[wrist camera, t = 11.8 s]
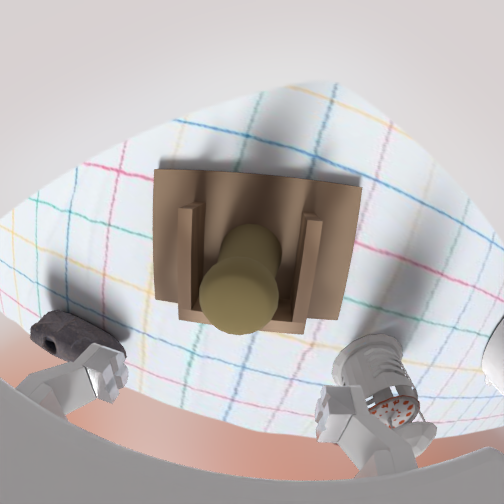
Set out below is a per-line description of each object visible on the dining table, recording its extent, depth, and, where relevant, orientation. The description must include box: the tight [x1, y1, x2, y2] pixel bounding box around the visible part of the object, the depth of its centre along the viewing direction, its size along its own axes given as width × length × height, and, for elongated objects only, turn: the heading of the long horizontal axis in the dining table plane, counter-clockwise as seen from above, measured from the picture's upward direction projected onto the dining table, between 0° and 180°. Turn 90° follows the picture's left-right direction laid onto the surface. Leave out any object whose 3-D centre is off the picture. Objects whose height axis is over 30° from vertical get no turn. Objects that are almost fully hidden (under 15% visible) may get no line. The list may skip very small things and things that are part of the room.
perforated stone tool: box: [30, 310, 126, 362], centre depth 30 cm, size 15×5×7 cm, turn 75°
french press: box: [332, 334, 437, 458], centre depth 19 cm, size 10×12×25 cm
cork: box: [199, 224, 282, 335], centre depth 22 cm, size 6×6×11 cm
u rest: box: [153, 169, 362, 334], centre depth 25 cm, size 20×14×6 cm
